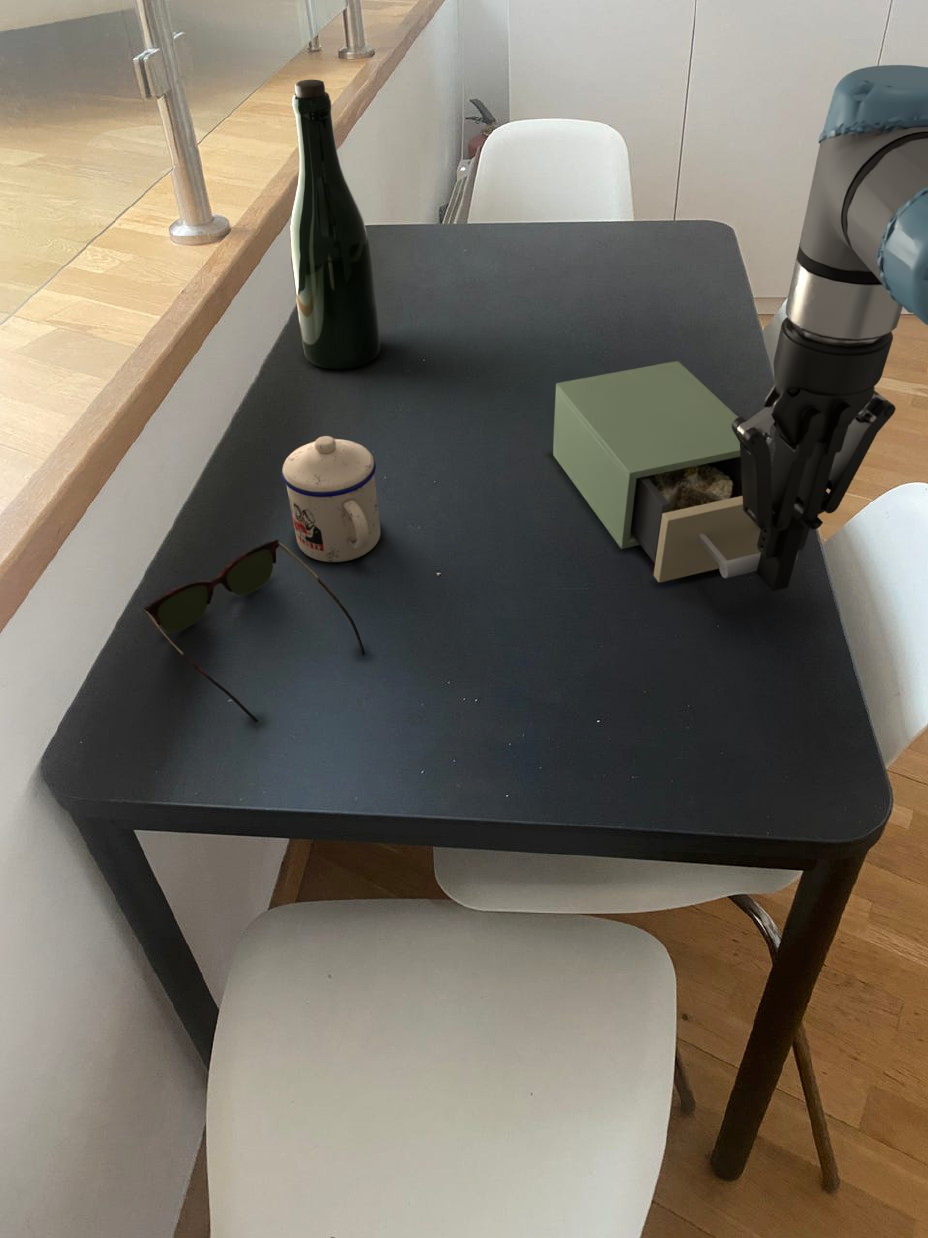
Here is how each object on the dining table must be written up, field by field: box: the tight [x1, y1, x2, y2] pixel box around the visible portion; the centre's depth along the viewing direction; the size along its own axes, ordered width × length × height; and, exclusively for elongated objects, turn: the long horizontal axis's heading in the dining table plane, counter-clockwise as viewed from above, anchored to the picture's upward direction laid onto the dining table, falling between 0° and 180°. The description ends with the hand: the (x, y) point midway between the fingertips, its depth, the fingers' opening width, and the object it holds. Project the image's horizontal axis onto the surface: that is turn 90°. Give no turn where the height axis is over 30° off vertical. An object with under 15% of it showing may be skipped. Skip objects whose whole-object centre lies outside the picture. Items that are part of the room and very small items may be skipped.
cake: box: [647, 464, 733, 512], centre depth 92 cm, size 10×10×5 cm
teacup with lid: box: [281, 435, 381, 563], centre depth 90 cm, size 12×9×12 cm
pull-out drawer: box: [630, 457, 799, 583], centre depth 90 cm, size 23×13×7 cm, turn 18°
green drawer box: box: [552, 360, 740, 550], centre depth 97 cm, size 19×15×9 cm
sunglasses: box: [143, 538, 366, 723], centre depth 82 cm, size 14×15×5 cm
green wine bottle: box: [288, 79, 381, 370], centre depth 115 cm, size 10×10×33 cm
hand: (772, 579), depth 80 cm, fingers closed
